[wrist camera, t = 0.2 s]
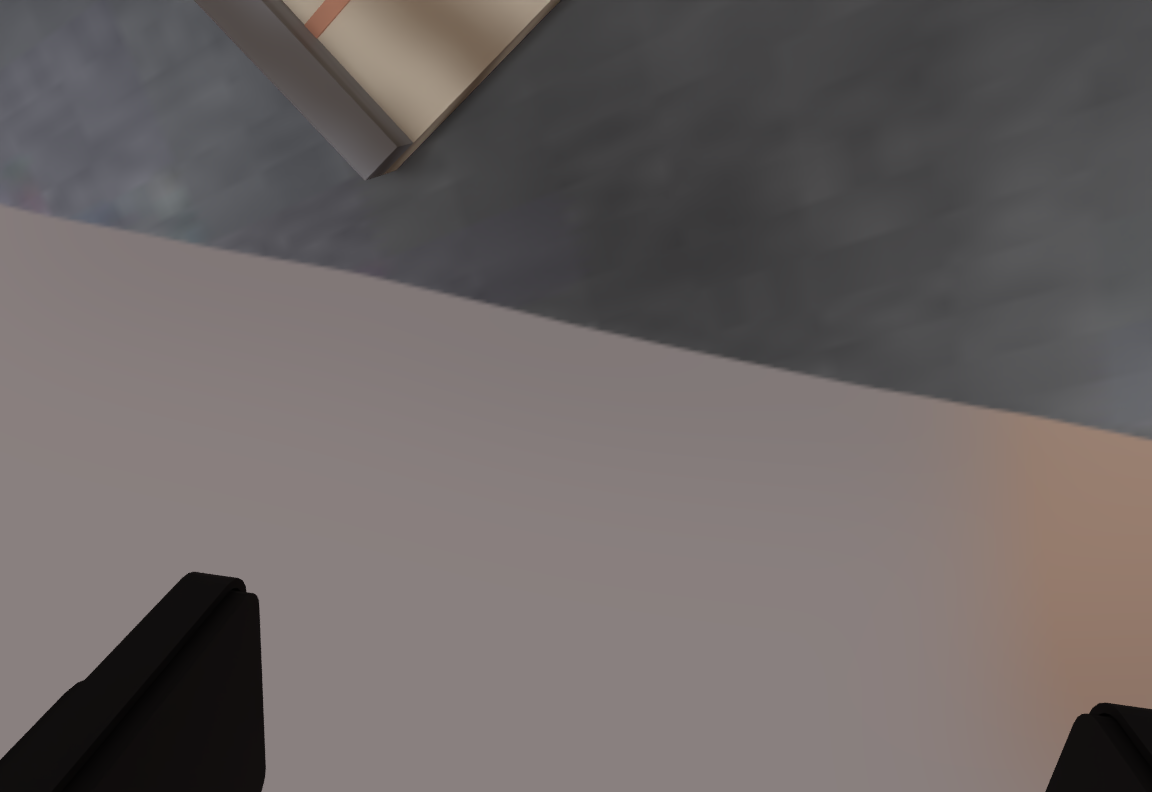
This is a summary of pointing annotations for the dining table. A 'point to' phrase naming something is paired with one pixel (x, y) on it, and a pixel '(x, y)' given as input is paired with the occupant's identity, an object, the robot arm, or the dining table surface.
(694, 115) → the dining table surface
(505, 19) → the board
